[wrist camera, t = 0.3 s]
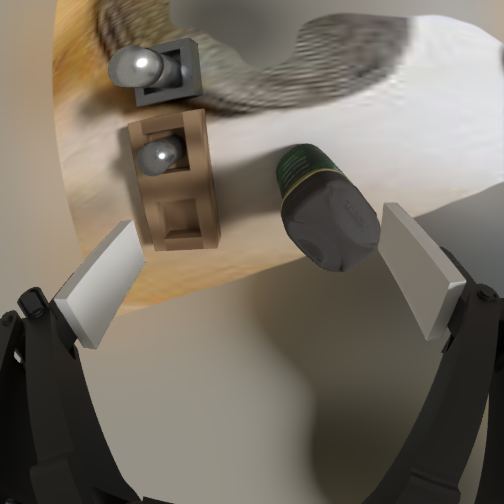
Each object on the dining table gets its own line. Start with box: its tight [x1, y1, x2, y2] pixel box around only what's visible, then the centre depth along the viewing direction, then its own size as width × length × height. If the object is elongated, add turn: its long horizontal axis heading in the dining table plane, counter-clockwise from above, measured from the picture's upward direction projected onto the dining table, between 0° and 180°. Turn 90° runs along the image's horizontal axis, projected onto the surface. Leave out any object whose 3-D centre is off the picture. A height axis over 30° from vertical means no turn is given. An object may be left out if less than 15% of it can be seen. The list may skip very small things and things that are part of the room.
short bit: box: [137, 134, 186, 177], centre depth 33 cm, size 4×4×8 cm
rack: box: [128, 109, 221, 251], centre depth 38 cm, size 20×10×4 cm, turn 5°
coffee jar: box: [276, 144, 381, 272], centre depth 31 cm, size 10×8×19 cm
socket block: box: [134, 38, 203, 107], centre depth 30 cm, size 8×8×4 cm
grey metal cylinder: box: [108, 45, 183, 88], centre depth 25 cm, size 5×5×13 cm
